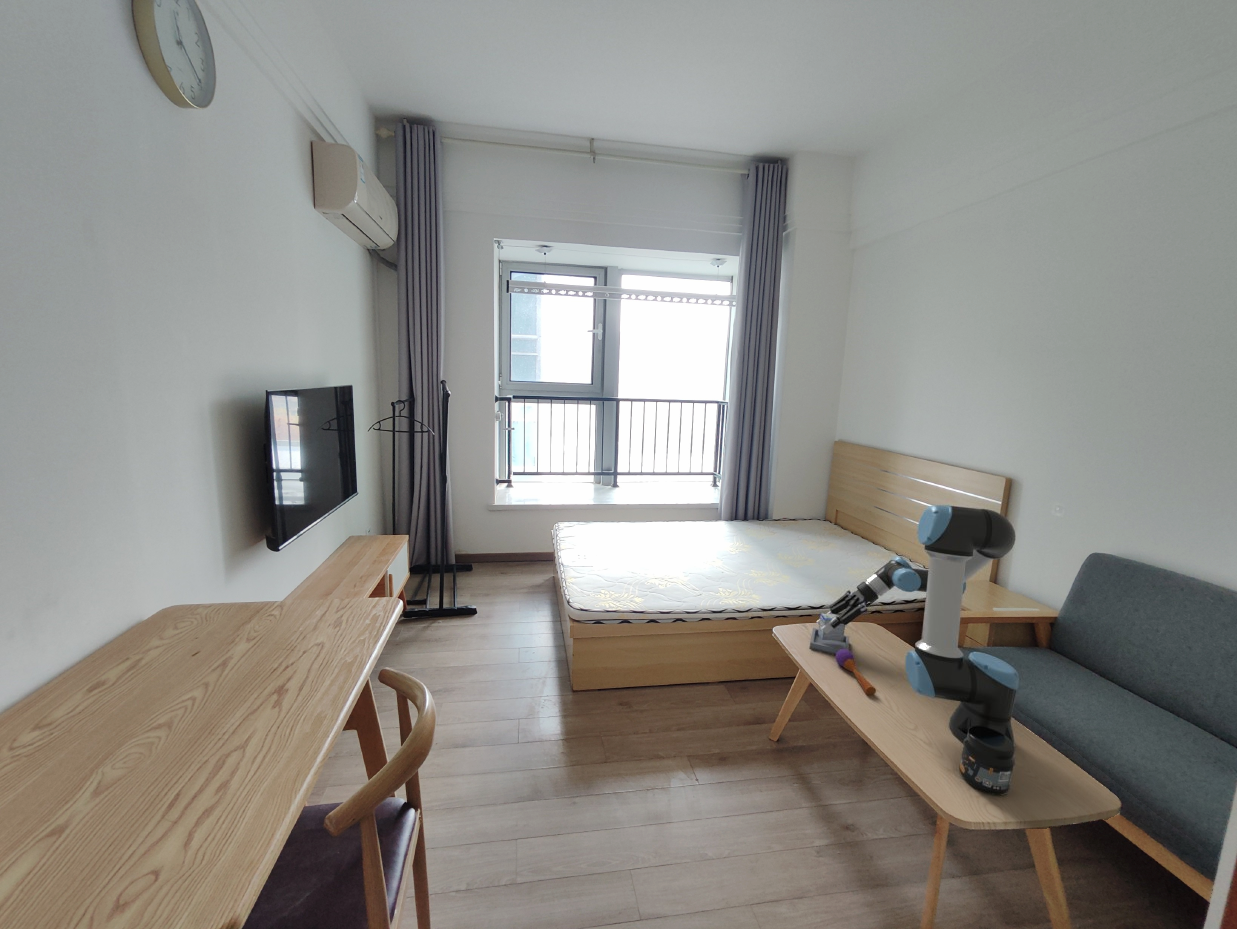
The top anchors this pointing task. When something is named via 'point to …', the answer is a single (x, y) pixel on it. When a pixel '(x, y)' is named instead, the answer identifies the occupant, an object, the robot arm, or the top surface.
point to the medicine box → (833, 634)
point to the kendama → (853, 669)
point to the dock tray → (828, 643)
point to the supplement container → (987, 760)
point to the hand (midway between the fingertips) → (821, 627)
